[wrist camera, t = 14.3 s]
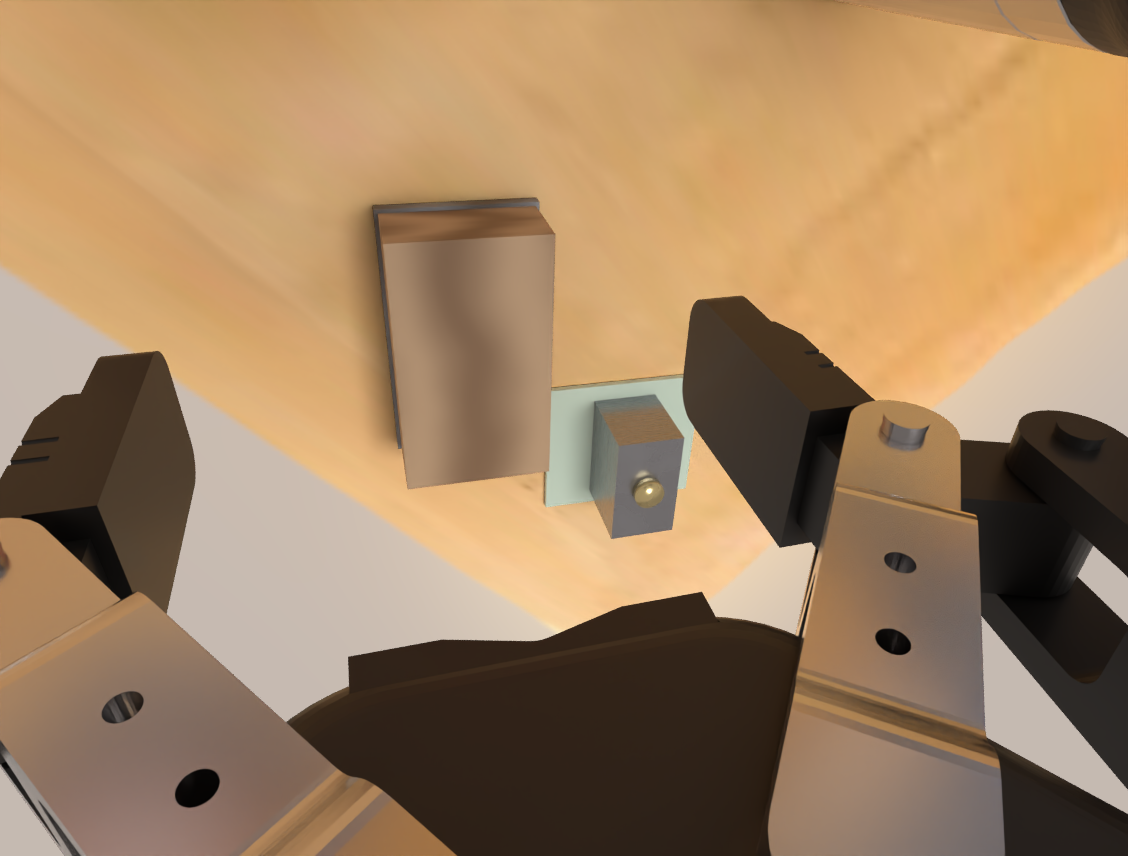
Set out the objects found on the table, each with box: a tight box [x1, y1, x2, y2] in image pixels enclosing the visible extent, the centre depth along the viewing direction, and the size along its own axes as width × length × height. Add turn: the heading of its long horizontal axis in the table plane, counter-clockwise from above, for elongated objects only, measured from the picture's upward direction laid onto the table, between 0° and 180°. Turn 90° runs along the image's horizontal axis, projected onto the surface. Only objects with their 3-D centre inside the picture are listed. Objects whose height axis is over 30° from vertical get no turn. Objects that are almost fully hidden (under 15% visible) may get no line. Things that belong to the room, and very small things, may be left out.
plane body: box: [373, 198, 555, 489], centre depth 42 cm, size 8×14×5 cm, turn 178°
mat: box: [544, 374, 694, 507], centre depth 51 cm, size 10×9×1 cm
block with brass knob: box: [589, 394, 684, 539], centre depth 49 cm, size 4×7×6 cm, turn 178°
